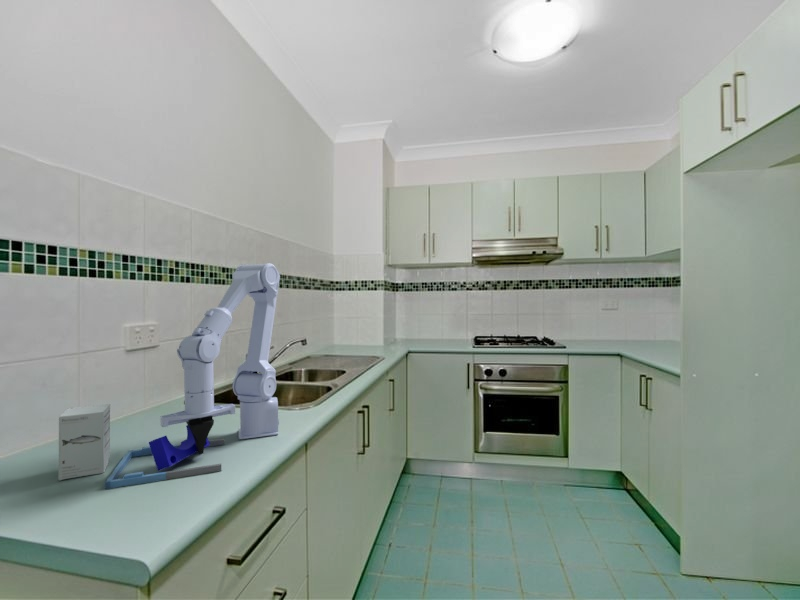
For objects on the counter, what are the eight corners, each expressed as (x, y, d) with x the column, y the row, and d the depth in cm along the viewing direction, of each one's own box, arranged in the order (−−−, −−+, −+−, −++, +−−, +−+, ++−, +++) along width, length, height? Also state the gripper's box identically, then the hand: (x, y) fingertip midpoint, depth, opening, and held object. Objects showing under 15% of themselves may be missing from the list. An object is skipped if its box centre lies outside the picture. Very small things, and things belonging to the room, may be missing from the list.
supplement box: (57, 482, 76) (56, 416, 76) (68, 467, 83) (67, 407, 83) (104, 473, 80) (103, 411, 80) (111, 460, 86) (110, 402, 86)
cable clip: (193, 450, 92) (185, 425, 92) (209, 444, 91) (201, 419, 91) (151, 472, 80) (142, 444, 80) (169, 466, 79) (160, 437, 79)
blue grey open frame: (224, 443, 96) (224, 436, 96) (221, 470, 80) (221, 462, 80) (128, 456, 88) (128, 448, 88) (105, 489, 73) (104, 480, 73)
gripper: (228, 382, 94) (229, 439, 94) (157, 392, 85) (158, 455, 85) (238, 387, 89) (238, 448, 89) (163, 398, 79) (164, 466, 79)
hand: (200, 452), depth 86 cm, fingers closed, pressing on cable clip
